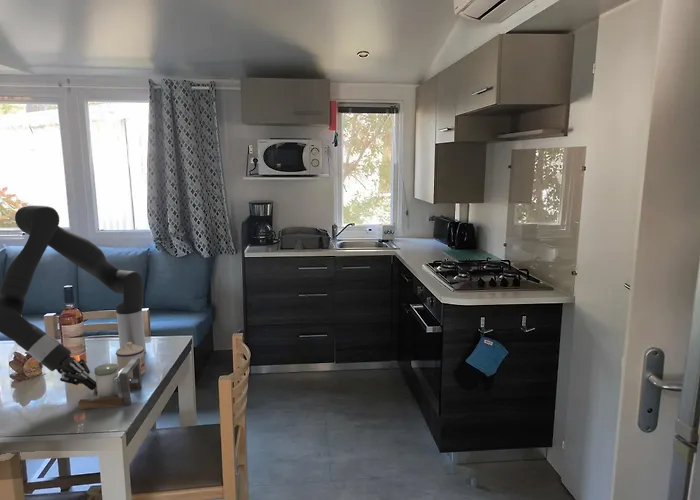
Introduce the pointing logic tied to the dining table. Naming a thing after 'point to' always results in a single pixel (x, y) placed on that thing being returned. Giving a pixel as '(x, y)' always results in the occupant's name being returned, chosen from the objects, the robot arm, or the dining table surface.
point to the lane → (125, 389)
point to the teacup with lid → (130, 356)
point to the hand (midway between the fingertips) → (95, 387)
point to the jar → (105, 379)
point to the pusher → (118, 385)
